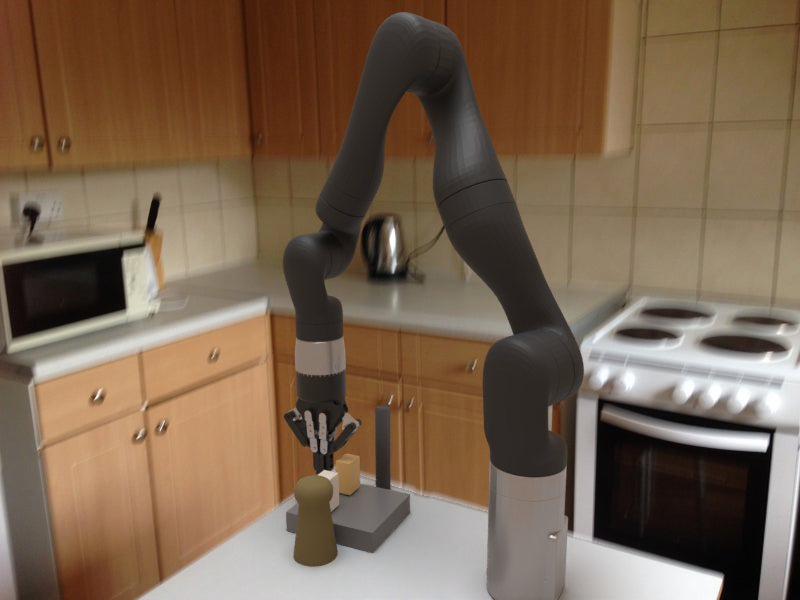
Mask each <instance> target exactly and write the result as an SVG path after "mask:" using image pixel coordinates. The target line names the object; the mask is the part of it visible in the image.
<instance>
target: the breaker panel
mask: <svg viewBox="0 0 800 600" xmlns="http://www.w3.org/2000/svg"><path fill="white" fill-rule="evenodd" d="M298 508H299V504H298V503H297V502H296V503H295V504H294V505H292V506H291V507H290V508H289V509H288V510H287V511H285V519H286V520H285V521H286V522H285V523H286V524H285V525H286V532H289V533H294V534H296V527H297V517H298ZM410 513H411V494H410V493H405V492H401V491H397V490H393V489H392V490H388V489H383V488H379V487H376V486H375V485H374V486H373V485H368V484H364V483H360V487H359V488H358V489H357V490H355V491H354V492H353V493H352V494H351V495H347V494H343V493H339V505H338V506H337V507H336V508H335V509H334V510H333V511H332V512H331V515H332V521H333V527H334V533H335V539H336V545H340V546H344V547H348V548H352V549H355V550H356V549H357V550H361V551H365V552H368V553H372V554H373V553H374V552H375V551H376V550H377V549H378V548H379V547H380V545H382V544H383V542H384V541H385V540H386V539H387V538H388V537H389V536H390V535H391V534H392V533H393V532H394V530H395V529H396V528H397V527H398V526H399V525H400V524H401V523H402V522H403V520H405V518H407V516H409V514H410ZM401 521H402V522H401ZM400 522H401V523H400Z"/></svg>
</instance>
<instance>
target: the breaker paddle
mask: <svg viewBox="0 0 800 600" xmlns="http://www.w3.org/2000/svg"><path fill="white" fill-rule="evenodd" d="M360 460H361V459H360V455H356V454H352V453H345V454H343V455H342V456H340V457H339V458H338V459H337V460H335V472H336V473H339V493H343V494H347V495H351V494H352V493H353V492H354V491H355V490H357V489H358V488H359V487H360V484H361V469H360V468H361V465H360V464H361V463H360V462H361V461H360Z"/></svg>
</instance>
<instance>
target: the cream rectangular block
mask: <svg viewBox="0 0 800 600" xmlns="http://www.w3.org/2000/svg"><path fill="white" fill-rule="evenodd" d="M318 475H320V476H324V477H326V478H328V479H329V480H330V482H331V483H332V486H333V496H332V499H331V501H330V502H329V503H330V509H331V512H332V511H333V510H334V509H335V508H336V507H337V506H338V505H339V473H336V471H333V470H331V471H327V470H324V471H322V472H321V473H320V474H318Z"/></svg>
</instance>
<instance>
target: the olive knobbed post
mask: <svg viewBox="0 0 800 600" xmlns="http://www.w3.org/2000/svg"><path fill="white" fill-rule="evenodd" d="M293 494H294V498H295V501H296V504H297V503H298V504H299V508H298V517H297V527H296V533H295V537H294V547H293V556H292V557H293V559H294V561H295V562H296V563H297V564H300V565H301V566H304V567H320V566H325V565H328V564H329V563H331V562H333V561H334V560H335V559H336V558H337V556H338V546H337V545H338V544H336V539H335V533H334V527H333V521H332V515H331V509H330V503H329V502H330V501H331V499H332V496H333V486H332V483H331V482H330V480H329V479H328V478H326V477H324V476H320V475H317V474H311V475H307V476H304V477H302V478H300V479H299V480H298V481H297V482H296V484H295V486H294V491H293Z"/></svg>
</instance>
